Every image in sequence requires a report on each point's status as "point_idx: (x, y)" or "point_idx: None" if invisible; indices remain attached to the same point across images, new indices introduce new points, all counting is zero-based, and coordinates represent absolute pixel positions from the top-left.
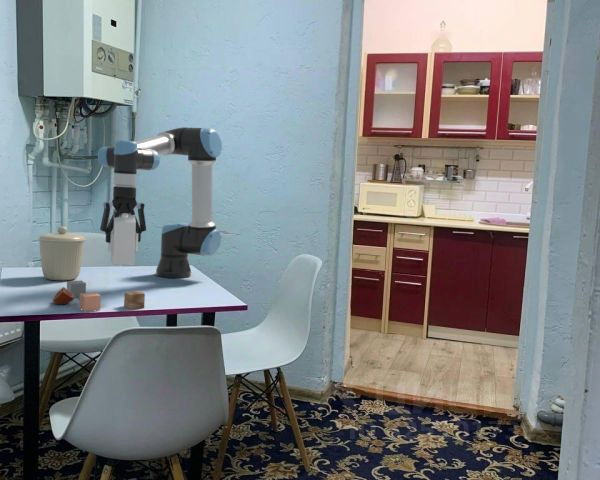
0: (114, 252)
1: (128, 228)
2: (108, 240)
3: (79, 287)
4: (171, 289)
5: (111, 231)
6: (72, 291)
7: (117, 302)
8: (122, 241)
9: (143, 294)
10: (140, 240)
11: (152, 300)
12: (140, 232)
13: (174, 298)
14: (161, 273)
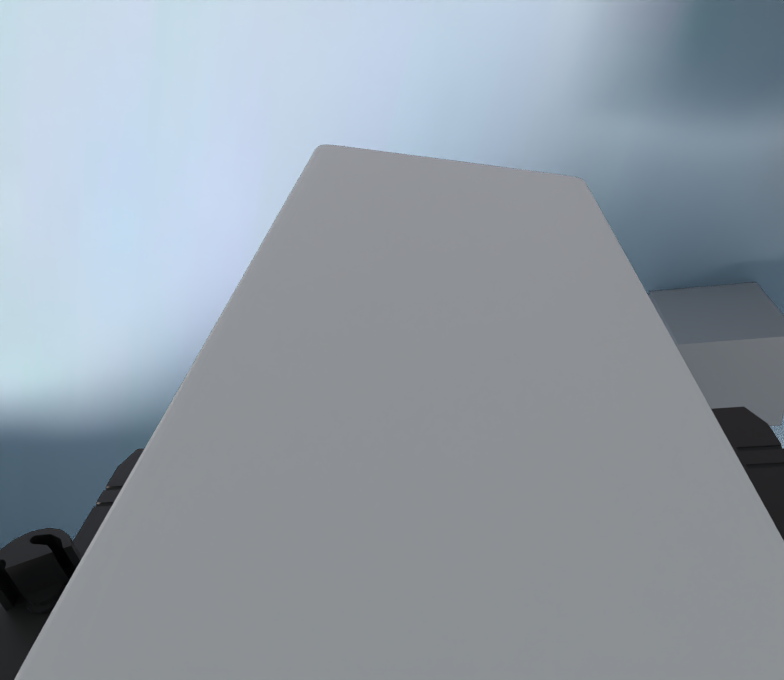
0: (607, 243)
1: (345, 531)
2: (740, 436)
3: (719, 323)
4: (53, 370)
5: None
6: (763, 305)
7: (495, 52)
8: (498, 324)
9: None
10: (118, 466)
11: (212, 60)
12: (43, 563)
13: (35, 93)
14: None
